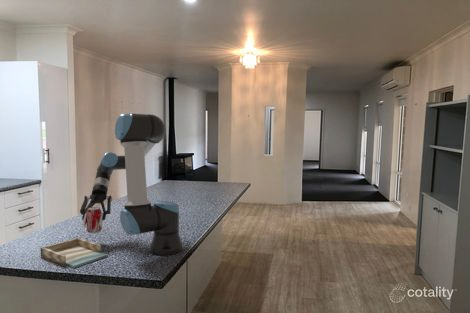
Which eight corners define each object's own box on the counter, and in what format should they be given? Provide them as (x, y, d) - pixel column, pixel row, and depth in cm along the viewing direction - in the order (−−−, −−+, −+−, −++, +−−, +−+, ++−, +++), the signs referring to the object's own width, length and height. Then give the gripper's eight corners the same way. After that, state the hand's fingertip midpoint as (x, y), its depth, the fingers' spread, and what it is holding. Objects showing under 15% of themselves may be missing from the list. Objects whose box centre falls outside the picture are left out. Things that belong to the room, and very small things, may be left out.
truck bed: (109, 256, 156) (108, 247, 156) (71, 268, 141) (71, 259, 141) (78, 245, 170) (78, 237, 169) (40, 256, 155) (40, 247, 154)
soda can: (83, 232, 171) (83, 209, 171) (94, 229, 178) (93, 206, 177) (94, 234, 169) (94, 210, 168) (105, 230, 176) (104, 207, 175)
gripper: (121, 191, 189) (114, 229, 174) (82, 192, 187) (72, 230, 171) (118, 183, 183) (111, 221, 168) (79, 184, 181) (68, 222, 166)
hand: (92, 225), depth 170 cm, fingers closed on soda can, 7 cm apart
